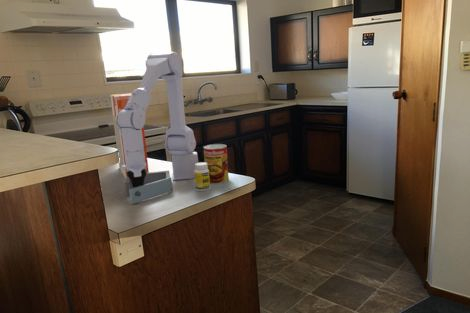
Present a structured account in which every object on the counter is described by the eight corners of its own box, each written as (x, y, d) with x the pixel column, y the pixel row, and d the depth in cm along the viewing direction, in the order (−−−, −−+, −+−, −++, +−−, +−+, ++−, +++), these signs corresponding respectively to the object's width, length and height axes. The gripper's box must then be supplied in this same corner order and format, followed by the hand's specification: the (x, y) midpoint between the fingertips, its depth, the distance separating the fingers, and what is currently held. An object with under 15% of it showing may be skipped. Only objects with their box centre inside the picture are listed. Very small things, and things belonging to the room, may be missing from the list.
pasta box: (149, 177, 138) (140, 95, 132) (126, 181, 135) (116, 97, 129) (139, 164, 159) (130, 93, 152) (119, 167, 156) (110, 94, 149)
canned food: (202, 183, 127) (200, 148, 125) (210, 176, 135) (207, 144, 132) (224, 183, 125) (222, 148, 123) (231, 177, 133) (229, 144, 130)
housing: (170, 182, 130) (169, 170, 129) (171, 191, 121) (170, 177, 120) (128, 187, 127) (127, 174, 126) (126, 196, 118) (124, 182, 117)
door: (171, 190, 120) (170, 177, 119) (174, 191, 119) (173, 178, 118) (130, 203, 110) (128, 188, 109) (133, 204, 109) (131, 189, 108)
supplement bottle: (204, 192, 118) (202, 166, 116) (192, 190, 121) (190, 164, 119) (213, 187, 122) (211, 162, 120) (201, 186, 124) (199, 161, 123)
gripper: (119, 147, 117) (124, 189, 120) (120, 156, 103) (126, 203, 106) (142, 144, 119) (147, 185, 122) (146, 153, 105) (151, 199, 108)
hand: (139, 193), depth 114 cm, fingers closed
